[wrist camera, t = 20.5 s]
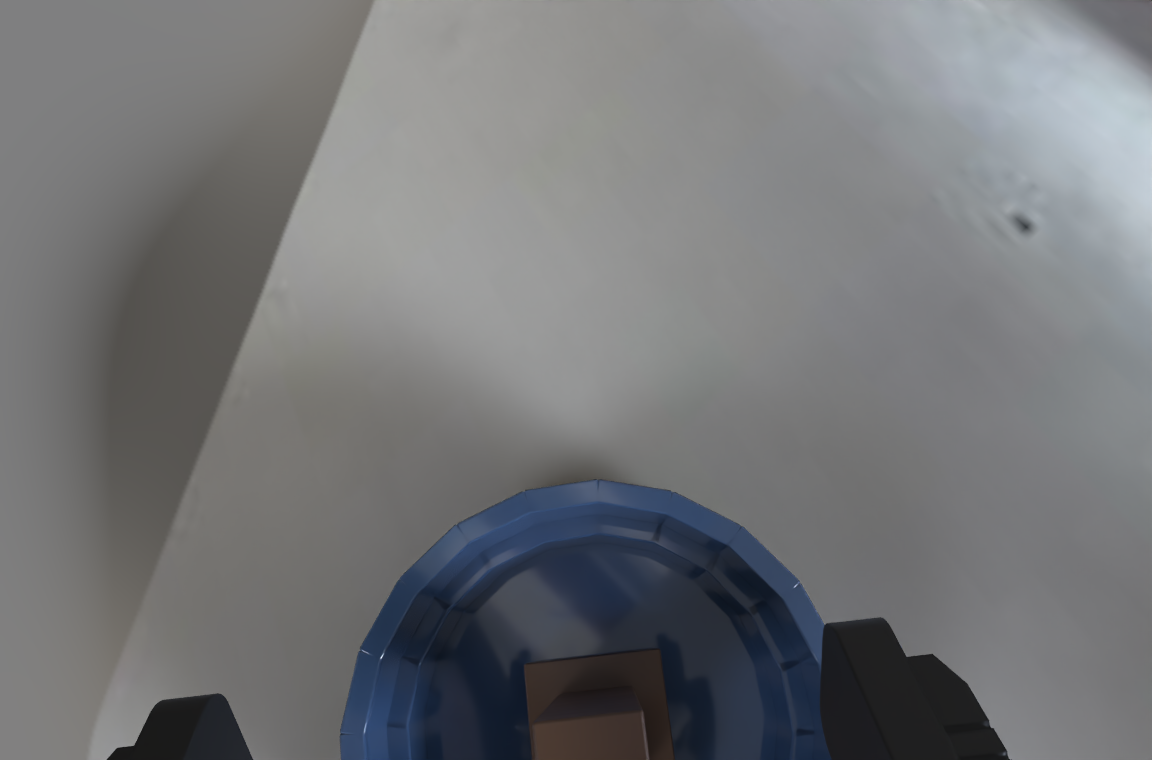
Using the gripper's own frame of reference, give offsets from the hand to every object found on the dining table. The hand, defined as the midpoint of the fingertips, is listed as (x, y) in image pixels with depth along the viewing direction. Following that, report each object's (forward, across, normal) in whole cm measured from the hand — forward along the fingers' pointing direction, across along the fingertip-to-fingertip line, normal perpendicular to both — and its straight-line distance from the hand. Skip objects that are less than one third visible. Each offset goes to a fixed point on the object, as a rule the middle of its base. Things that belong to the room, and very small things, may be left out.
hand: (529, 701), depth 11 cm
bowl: (+14, 0, +17) cm, 21 cm away
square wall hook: (+13, 0, +16) cm, 21 cm away
